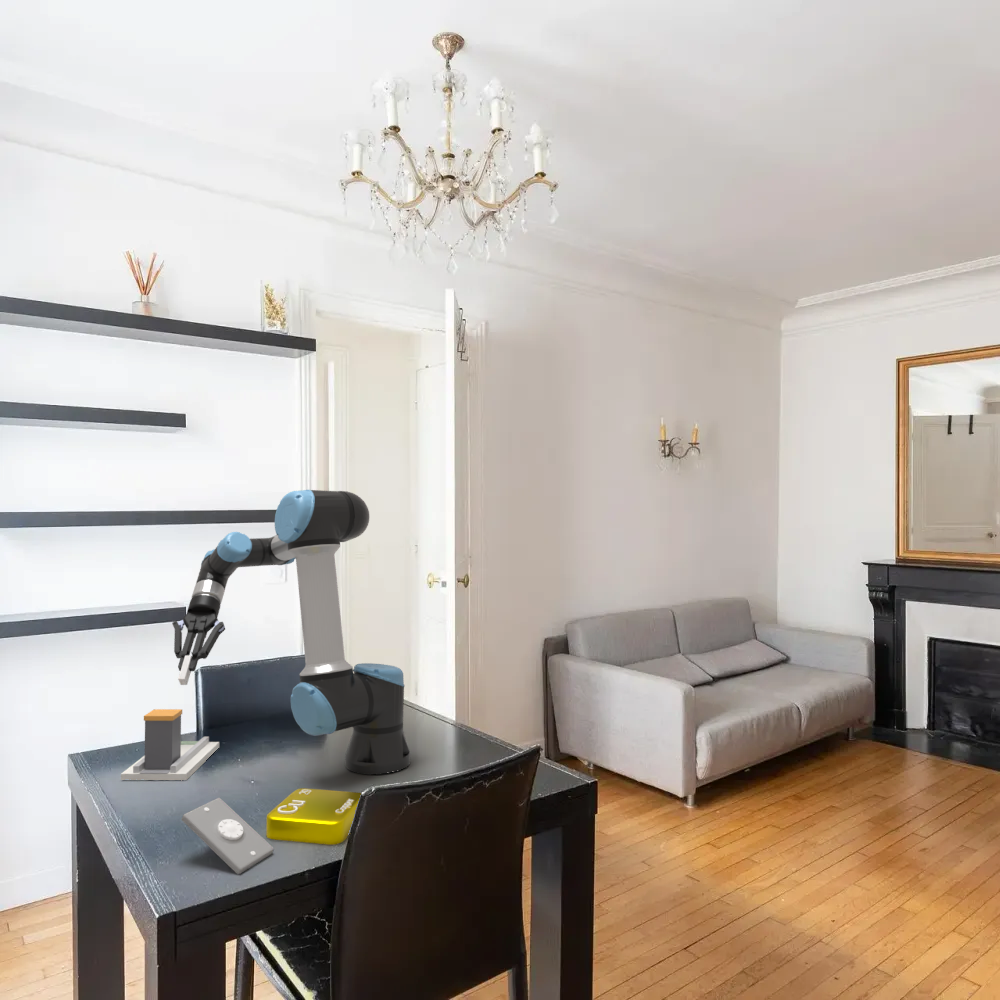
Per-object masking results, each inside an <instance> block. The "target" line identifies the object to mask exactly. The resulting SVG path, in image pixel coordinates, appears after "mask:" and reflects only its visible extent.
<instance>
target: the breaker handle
mask: <svg viewBox="0 0 1000 1000" xmlns="http://www.w3.org/2000/svg"><path fill="white" fill-rule="evenodd" d="M182 715H183V709H177V708H175V709H171V708H170V709H165V708H164V709H163V708H160V709H159V708H158V709H157V708H155V709H153V710H151V711H149V712H147V713H146V714H145V715H143V721H144V756H145V763H144V769H170V766H171V765H172V764H173V763H174V762H176V761H177V760H178V759H179V758H180V757H181V741H182Z"/></svg>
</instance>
